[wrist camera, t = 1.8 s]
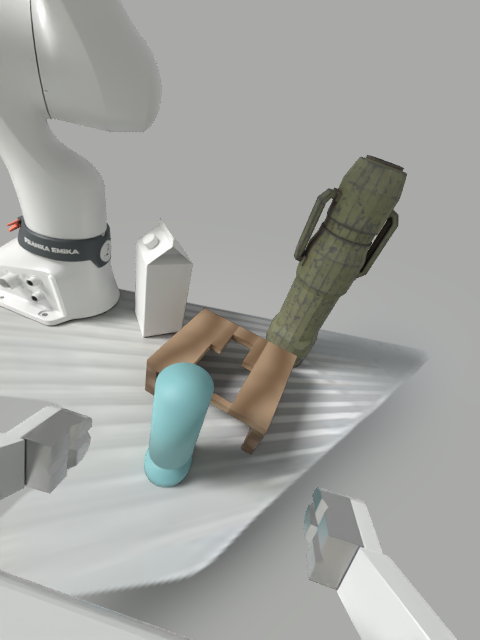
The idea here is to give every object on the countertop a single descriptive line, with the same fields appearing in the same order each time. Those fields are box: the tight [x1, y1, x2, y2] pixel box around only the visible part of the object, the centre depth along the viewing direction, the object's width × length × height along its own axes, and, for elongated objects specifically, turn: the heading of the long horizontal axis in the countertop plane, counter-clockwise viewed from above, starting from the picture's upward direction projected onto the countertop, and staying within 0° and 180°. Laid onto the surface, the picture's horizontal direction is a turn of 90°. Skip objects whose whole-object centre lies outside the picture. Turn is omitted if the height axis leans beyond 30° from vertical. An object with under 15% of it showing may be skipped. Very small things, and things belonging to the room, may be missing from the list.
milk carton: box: [135, 218, 193, 337], centre depth 45 cm, size 7×7×19 cm
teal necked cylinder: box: [144, 362, 214, 487], centre depth 28 cm, size 6×6×16 cm
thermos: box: [265, 155, 407, 368], centre depth 43 cm, size 9×12×35 cm
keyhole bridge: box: [145, 308, 297, 454], centre depth 42 cm, size 18×15×7 cm
